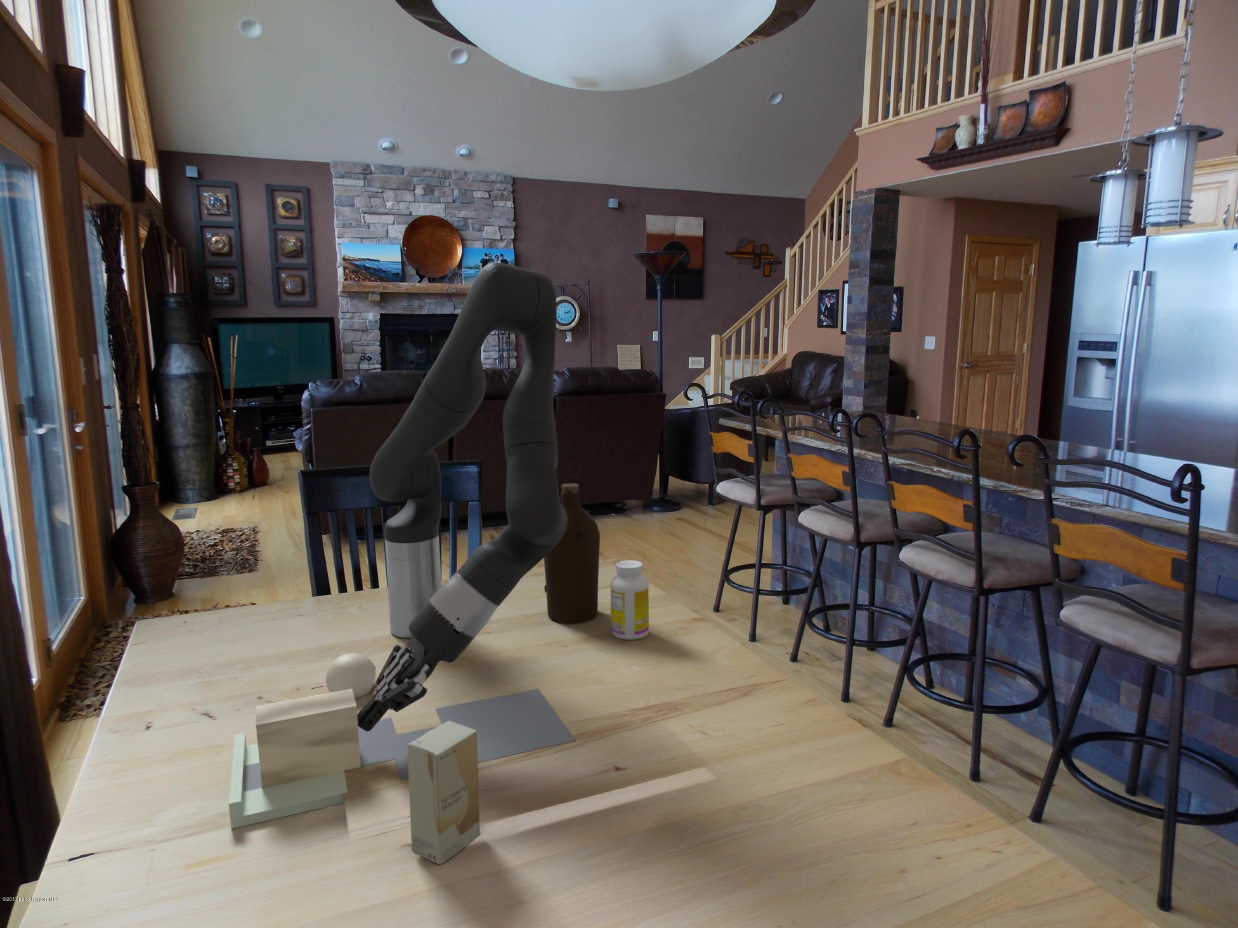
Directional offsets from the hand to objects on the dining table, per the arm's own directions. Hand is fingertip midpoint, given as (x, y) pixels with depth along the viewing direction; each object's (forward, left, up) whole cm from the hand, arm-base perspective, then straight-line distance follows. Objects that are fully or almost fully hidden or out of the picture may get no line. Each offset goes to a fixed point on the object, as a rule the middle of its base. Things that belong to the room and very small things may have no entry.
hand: (361, 725), depth 99 cm
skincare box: (+20, +7, -5) cm, 21 cm away
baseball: (-19, +1, -5) cm, 20 cm away
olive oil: (-37, +42, -5) cm, 56 cm away
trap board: (0, +6, -5) cm, 8 cm away
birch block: (0, -6, -4) cm, 7 cm away
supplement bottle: (-24, +48, -5) cm, 54 cm away
